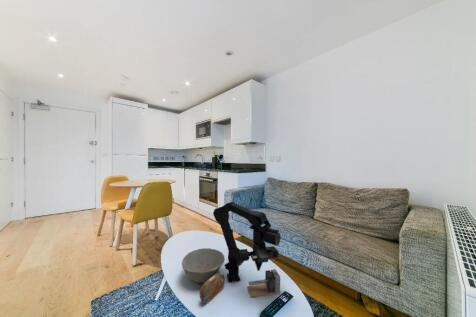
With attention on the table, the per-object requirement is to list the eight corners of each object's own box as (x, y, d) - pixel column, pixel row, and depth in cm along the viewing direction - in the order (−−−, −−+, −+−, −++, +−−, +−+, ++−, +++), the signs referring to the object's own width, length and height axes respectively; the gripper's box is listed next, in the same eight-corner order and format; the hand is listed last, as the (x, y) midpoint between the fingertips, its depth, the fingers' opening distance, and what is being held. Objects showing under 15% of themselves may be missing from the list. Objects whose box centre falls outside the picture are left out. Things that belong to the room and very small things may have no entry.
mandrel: (246, 287, 94) (247, 271, 93) (274, 283, 97) (275, 268, 96) (250, 298, 87) (250, 281, 87) (280, 293, 90) (280, 277, 90)
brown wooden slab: (203, 307, 81) (203, 289, 81) (198, 304, 83) (198, 286, 83) (225, 287, 93) (225, 271, 93) (220, 284, 95) (220, 268, 95)
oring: (265, 282, 95) (265, 270, 95) (269, 282, 96) (269, 270, 96) (269, 292, 89) (270, 279, 89) (274, 291, 90) (274, 278, 89)
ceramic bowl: (172, 280, 98) (172, 261, 98) (204, 259, 117) (204, 244, 116) (202, 300, 85) (202, 279, 85) (232, 273, 104) (232, 256, 104)
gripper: (244, 249, 80) (243, 284, 81) (283, 245, 84) (283, 278, 85) (238, 237, 91) (238, 268, 92) (274, 234, 95) (273, 264, 96)
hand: (258, 270), depth 91 cm, fingers closed
